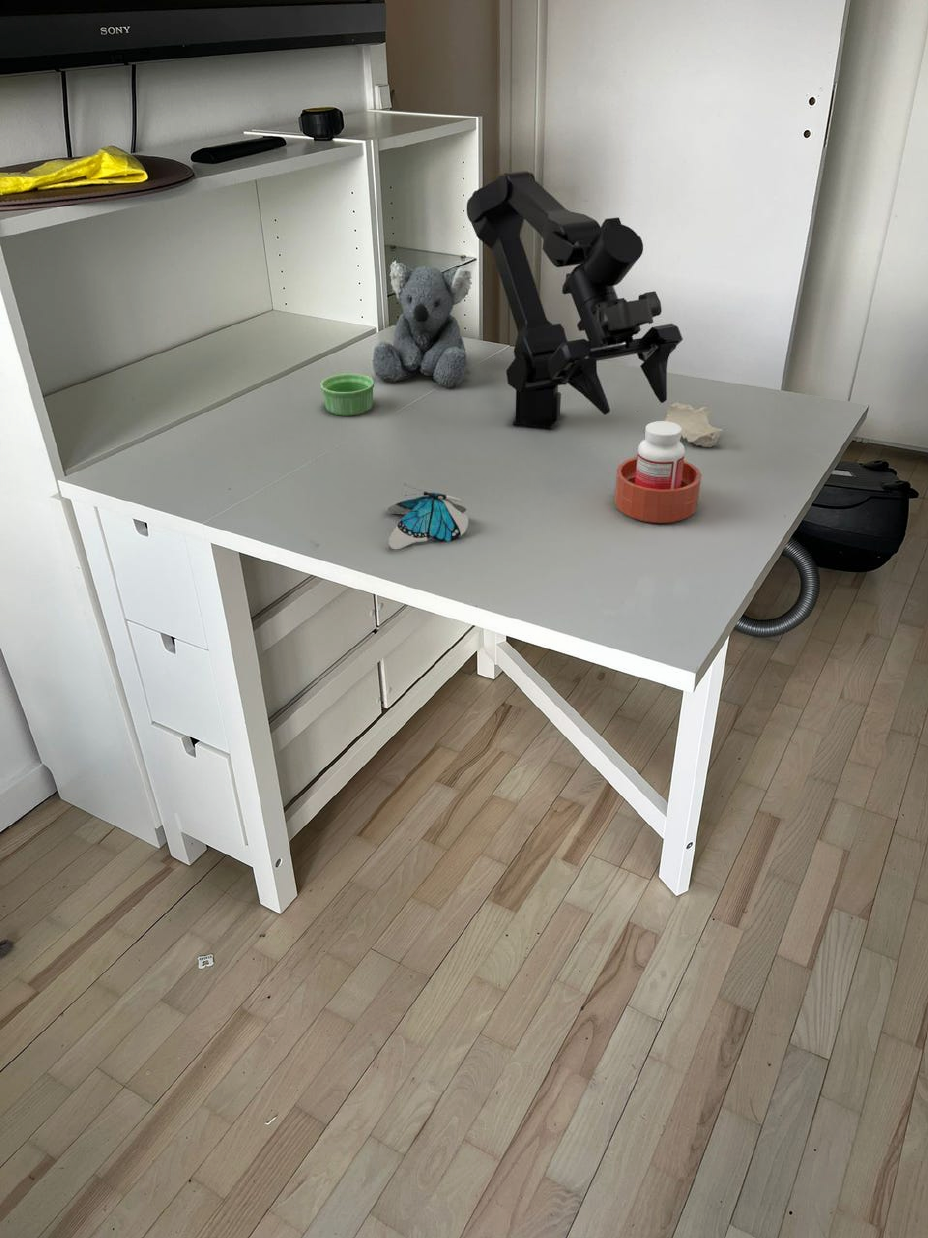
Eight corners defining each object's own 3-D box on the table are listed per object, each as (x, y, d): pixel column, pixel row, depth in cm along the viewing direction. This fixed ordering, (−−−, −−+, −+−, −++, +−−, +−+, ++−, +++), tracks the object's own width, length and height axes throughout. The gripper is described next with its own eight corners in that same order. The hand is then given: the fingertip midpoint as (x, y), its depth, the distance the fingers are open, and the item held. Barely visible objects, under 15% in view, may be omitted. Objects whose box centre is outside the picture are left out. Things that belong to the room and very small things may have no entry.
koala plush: (368, 383, 173) (361, 271, 162) (397, 351, 187) (391, 247, 176) (462, 390, 169) (461, 277, 158) (483, 357, 184) (484, 251, 173)
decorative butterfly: (475, 517, 121) (398, 503, 119) (463, 561, 125) (387, 548, 123) (468, 482, 130) (395, 469, 128) (457, 524, 133) (386, 511, 131)
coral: (709, 452, 146) (713, 425, 144) (653, 433, 153) (655, 407, 150) (729, 441, 150) (733, 414, 147) (673, 423, 156) (676, 397, 153)
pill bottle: (660, 489, 135) (669, 415, 129) (687, 507, 131) (697, 431, 125) (624, 498, 133) (630, 423, 127) (649, 517, 129) (658, 440, 122)
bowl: (607, 518, 129) (610, 485, 126) (621, 483, 138) (624, 451, 135) (691, 529, 126) (696, 495, 124) (700, 493, 135) (705, 460, 132)
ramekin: (313, 413, 161) (310, 388, 159) (338, 395, 168) (336, 370, 166) (360, 420, 159) (358, 395, 156) (384, 401, 165) (383, 376, 163)
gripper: (562, 280, 122) (603, 391, 120) (682, 263, 128) (723, 368, 126) (530, 326, 132) (568, 429, 130) (643, 307, 139) (680, 405, 137)
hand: (636, 407), depth 130 cm, fingers open, 9 cm apart
